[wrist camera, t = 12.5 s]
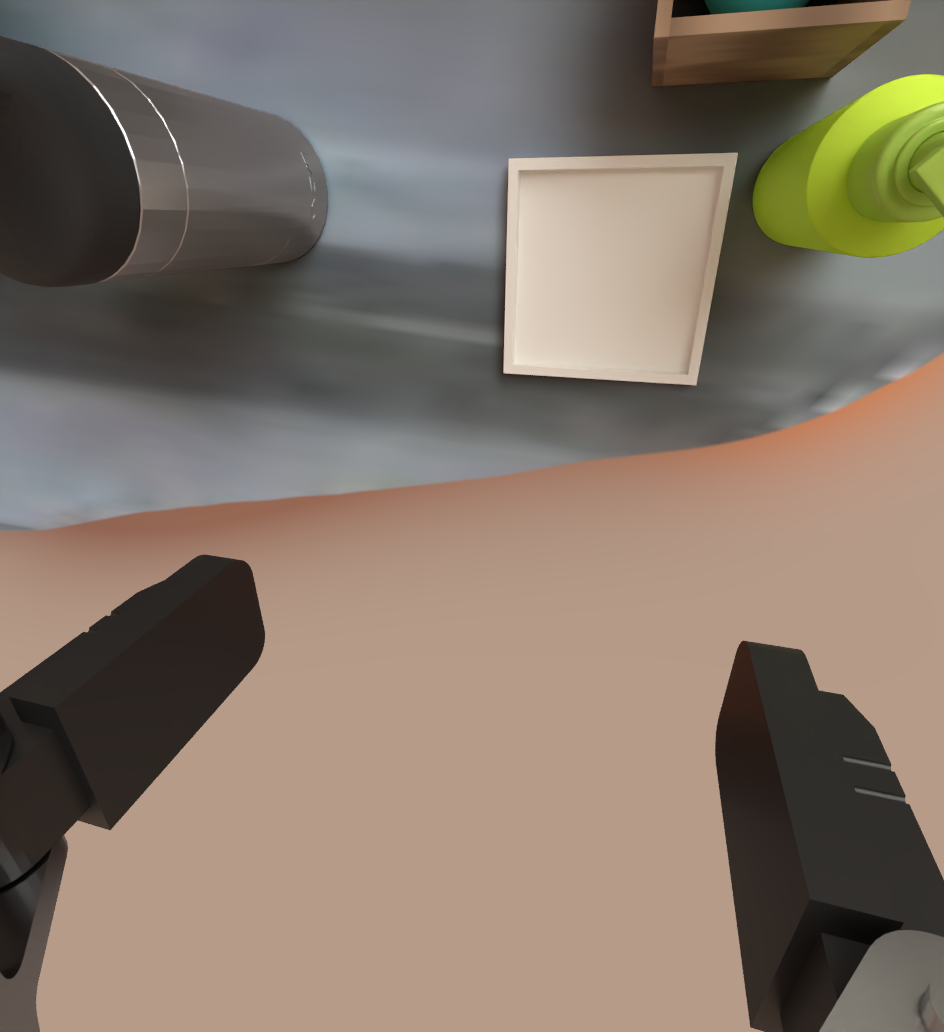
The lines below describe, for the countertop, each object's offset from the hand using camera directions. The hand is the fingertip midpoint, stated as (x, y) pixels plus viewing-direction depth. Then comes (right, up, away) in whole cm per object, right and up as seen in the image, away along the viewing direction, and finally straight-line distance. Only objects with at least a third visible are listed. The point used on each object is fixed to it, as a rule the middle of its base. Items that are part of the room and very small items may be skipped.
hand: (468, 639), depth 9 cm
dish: (+9, +18, +28) cm, 34 cm away
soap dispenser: (+20, +21, +23) cm, 37 cm away
